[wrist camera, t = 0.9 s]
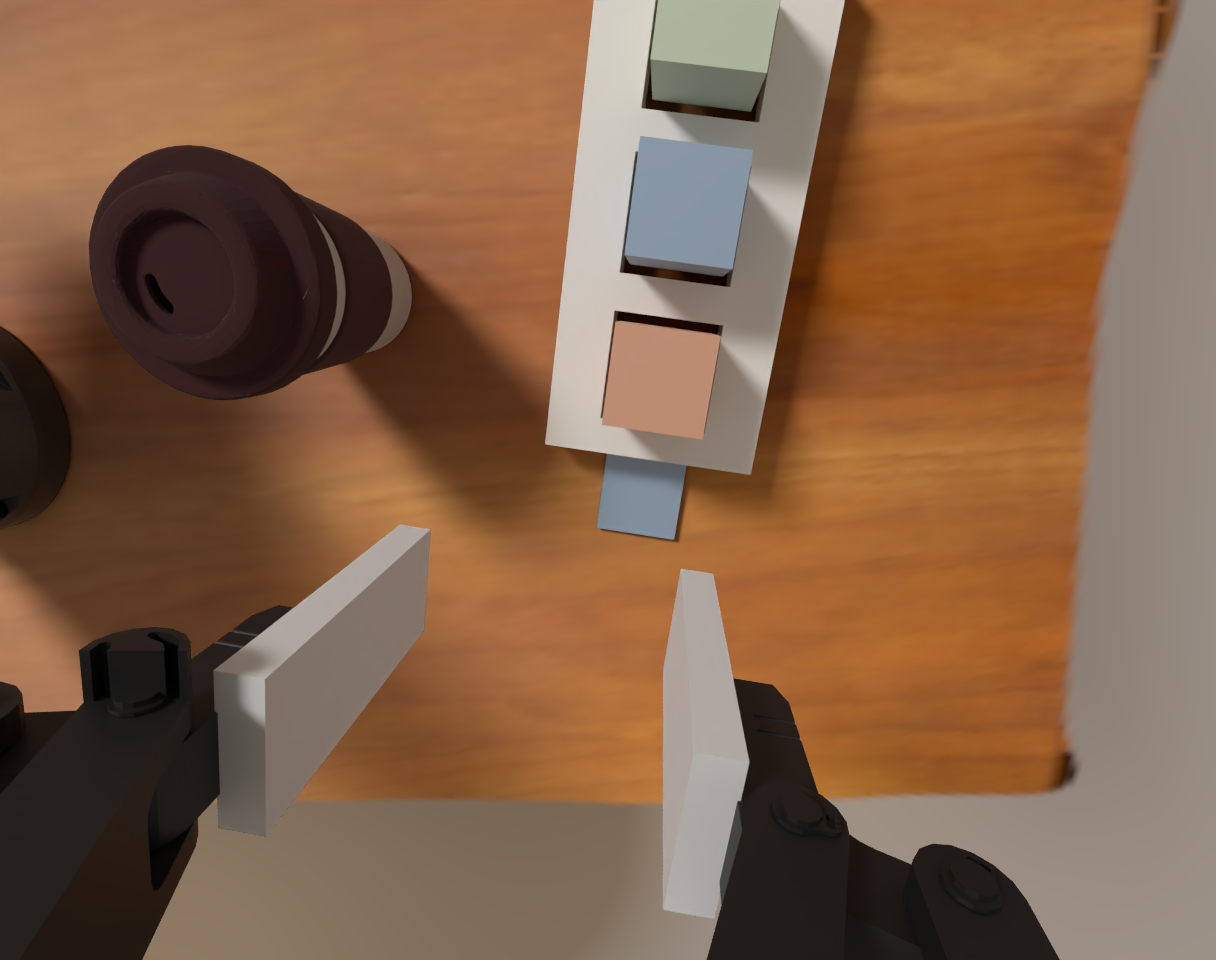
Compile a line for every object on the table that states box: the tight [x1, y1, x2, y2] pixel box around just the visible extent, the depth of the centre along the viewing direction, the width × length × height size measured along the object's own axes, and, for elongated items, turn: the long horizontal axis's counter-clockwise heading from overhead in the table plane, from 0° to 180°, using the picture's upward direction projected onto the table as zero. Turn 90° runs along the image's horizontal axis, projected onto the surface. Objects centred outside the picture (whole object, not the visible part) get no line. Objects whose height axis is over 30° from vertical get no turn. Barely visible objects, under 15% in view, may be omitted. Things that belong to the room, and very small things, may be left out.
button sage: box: [650, 0, 780, 112], centre depth 29 cm, size 5×5×5 cm
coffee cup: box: [89, 145, 412, 400], centre depth 31 cm, size 10×10×15 cm
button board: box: [545, 0, 845, 475], centre depth 35 cm, size 12×26×3 cm, turn 172°
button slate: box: [624, 136, 753, 277], centre depth 31 cm, size 5×5×5 cm
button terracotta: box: [602, 321, 721, 440], centre depth 33 cm, size 5×5×5 cm
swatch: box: [597, 454, 687, 540], centre depth 40 cm, size 5×5×1 cm
